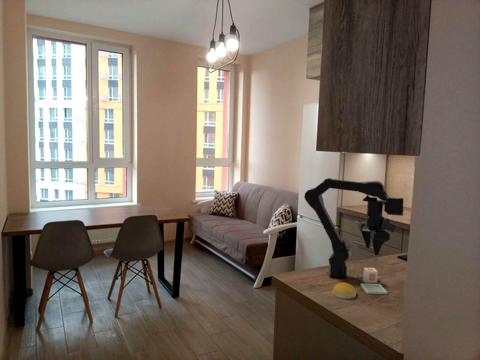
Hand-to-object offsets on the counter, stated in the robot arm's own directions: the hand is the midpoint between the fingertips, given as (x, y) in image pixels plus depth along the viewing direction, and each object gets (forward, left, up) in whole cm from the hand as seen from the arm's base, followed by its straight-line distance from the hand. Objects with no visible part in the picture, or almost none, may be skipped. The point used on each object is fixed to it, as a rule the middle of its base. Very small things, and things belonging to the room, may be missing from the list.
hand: (371, 251), depth 142 cm
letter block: (0, 0, -12) cm, 12 cm away
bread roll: (-14, -12, -13) cm, 23 cm away
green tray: (-1, -8, -13) cm, 15 cm away
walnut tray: (0, 0, -13) cm, 13 cm away
